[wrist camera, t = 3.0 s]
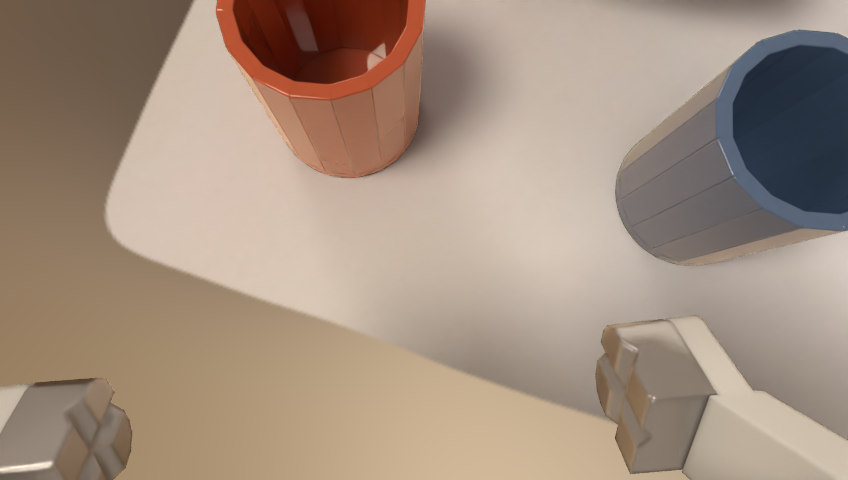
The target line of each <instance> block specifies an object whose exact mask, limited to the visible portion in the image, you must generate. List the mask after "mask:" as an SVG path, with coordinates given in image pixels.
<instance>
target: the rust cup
mask: <svg viewBox="0 0 848 480" xmlns="http://www.w3.org/2000/svg"><path fill="white" fill-rule="evenodd" d="M425 3H426V0H217V6H216V15H217V18H218V22H219V25H220V29H221V32H222V36H223V39H224V43H225V46H226V48H227V50H228V52H229V53H230V55H231V57H232V58H233V60H234V61H235V63H236V65H237V66H238V68H239V69H240V71H241V73H242V74H243V76H244V77H245V79H246V81H247V82H248V84H249V85H250V87H251V89H252V90H253V92H254V93H255V95H256V97H257V98H258V100H259V101H260V103H261V105H262V106H263V108H264V109H265V111H266V113H267V114H268V116H269V117H270V119H271V120H272V122H273V124H274V125H275V127H276V128H277V130H278V132H279V133H280V135H281V136H282V138H283V139H284V141H285V142H286V143H287V144H288V146H289V147H290V148H291V150H292V151H293V152H294V154H295V155H296V156H297V157H298V158H299V159H300V160H301V161H303V162H304V163H305V164H307V165H308V166H310V167H311V168H313V169H315V170H317V171H319V172H322V173H324V174H327V175H331V176H336V177H347V178H352V177H361V176H365V175H370V174H372V173H375V172H378V171H380V170H382V169H384V168H385V167H387V166H389V165H390V164H391V163H393V162H394V161H395V160H396V159H397V158H399V157H400V156H401V155H402V153H403V152H404V151H405V150H406V149H407V147H408V145H409V144H410V142H411V141H412V138H413V136H414V134H415V131H416V128H417V125H418V118H419V106H420V93H421V75H422V57H423V39H424V21H425Z"/></svg>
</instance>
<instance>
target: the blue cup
mask: <svg viewBox="0 0 848 480" xmlns="http://www.w3.org/2000/svg"><path fill="white" fill-rule="evenodd" d="M616 202H617V208H618V211H619V214H620V217H621V219H622V221H623V224H624V226H625V227H626V229H627V230H628V232H629V234H630V235H631V236H632V237H633V238H634V240H635V241H636V242H637V243H638V244H639V245H640V246H641V247H642V248H644V249H645V250H646V251H648V252H649V253H651V254H652V255H654V256H656V257H658V258H660V259H662V260H664V261H667V262H670V263H674V264H679V265H692V266H695V265H703V264H704V265H706V264H711V263H716V262H720V261H724V260H728V259H732V258H736V257H740V256H745V255H749V254H753V253H757V252H761V251H765V250H769V249H774V248H778V247H782V246H786V245H790V244H794V243H799V242H803V241H807V240H811V239H815V238H819V237H823V236H828V235H832V234H836V233H840V232H844V231H847V230H848V38H847V37H844V36H842V35H840V34H838V33H836V34H835V33H831V32H819V31H808V30H793V31H790V32H786V33H783V34H780V35H776V36H773V37H770V38H766V39H763V40H761V41H759V42H757V43H756V44H755V45H753V46H752V47H751V48H750V49H749V50H747V51H746V52H745V53H744V54H743V55H741V56H740V57H739V58H738V59H737V60H736V61H734V62H733V63H732V64H731V65H730V66H728V67H727V68H726V69H725V70H724V71H722V72H721V73H720V74H719V75H718V76H716V77H715V78H714V79H713V80H712V81H711V82H709V83H708V84H707V85H706V86H705V87H703V88H702V89H701V90H700V91H699V92H697V93H696V94H695V95H694V96H693V97H692V98H690V99H689V100H688V101H687V102H686V103H684V104H683V105H682V106H681V107H680V108H678V109H677V110H676V111H675V112H674V113H673V114H671V115H670V116H669V117H668V118H667V119H665V120H664V121H663V122H662V123H661V124H659V125H658V126H657V127H656V128H655V129H653V130H652V131H651V132H650V133H649V134H648V135H646V136H645V137H644V138H643V139H642V140H641V141H639V142H638V143H637V144H636V145H635V146H634V147H633V148H632V149H631V150H630V151H629V153H628V154H627V155H626V157H625V159H624V160H623V162H622V164H621V167H620V169H619V172H618V176H617V180H616Z"/></svg>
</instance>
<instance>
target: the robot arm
mask: <svg viewBox="0 0 848 480" xmlns="http://www.w3.org/2000/svg"><path fill="white" fill-rule="evenodd" d="M601 343H602V345H603V348H604V350H605V352H606V353H605V354H604V355H603V356H602V357H601V358H600V359H599V360H598V361H597V368H596V385H597V392H598V396H599V400H600V403H601V406H602V408H603V411H604V413H605V416H607V417H608V418H610V419H611V420H612V421H614V422H615V423H616V424H618V427H617V432H616V436H615V439H616V442H617V444H618V447H619V449H620V451H621V453H622V456H623V458H624V460H625V463H626V465H627V467H628V470H629V472H630V474H636V473H648V472H659V471H671V470H682V469H683V471H682V473H683V474H685V475H686V476H687V477H688V478H689V479H690V480H848V440H846V439H845V438H843V437H841V436H840V435H838V434H836V433H835V432H833V431H831V430H829V429H828V428H826V427H824V426H823V425H821V424H819V423H817V422H816V421H814V420H812V419H811V418H809V417H807V416H805V415H804V414H802V413H800V412H799V411H797V410H795V409H794V408H792V407H790V406H788V405H787V404H785V403H783V402H782V401H780V400H778V399H776V398H775V397H773V396H771V395H770V394H768V393H766V392H765V391H763V390H759V391H753V390H752V389H751V387H750V386H749V384H748V383H747V382H746V380H745V379H744V377H743V376H742V375H741V373H740V372H739V370H738V369H737V367H736V366H735V365H734V363H733V362H732V360H731V359H730V358H729V356H728V355H727V353H726V352H725V351H724V349H723V348H722V346H721V345H720V343H719V342H718V341H717V339H716V338H715V336H714V335H713V334H712V332H711V331H710V329H709V328H708V326H707V325H706V324H705V322H704V321H703V319H701V318H699V317H698V316H687V317H678V318H669V319H665V320H664V319H659V320H650V321H641V322H632V323H623V324H615V325H607V326H606V328H605V329H604V331H603V335H602V340H601ZM113 394H114V390H113V389H112V387H111V386H110V384H109V382H108V381H107V379H104V378H89V379H77V380H63V381H51V382H38V383H32V384H19V385H6V386H2V387H0V480H113V479H114V478H116V476H118V475H119V473H121V472H122V471H123V470H124V469H125V468H126V465H127V461H128V458H129V455H130V452H131V441H132V430H131V425H130V421H129V419H128V417H127V415H126V413H125V411H124V410H123V409H121V408H119V407H117V406H116V405H114V404H112V403H110V402H111V400H112V397H113Z"/></svg>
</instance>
